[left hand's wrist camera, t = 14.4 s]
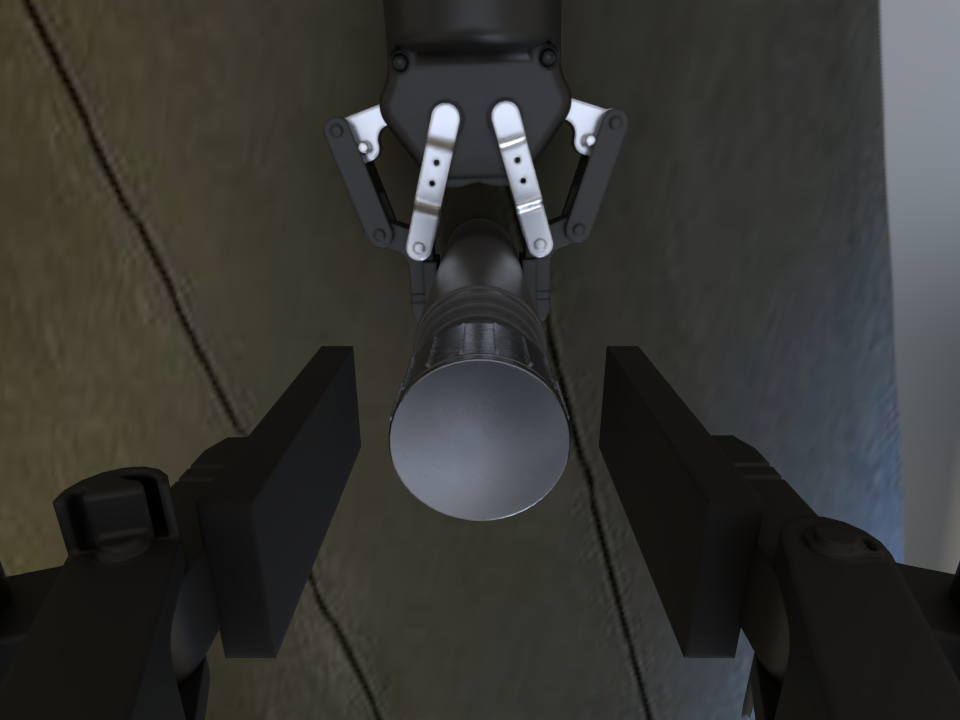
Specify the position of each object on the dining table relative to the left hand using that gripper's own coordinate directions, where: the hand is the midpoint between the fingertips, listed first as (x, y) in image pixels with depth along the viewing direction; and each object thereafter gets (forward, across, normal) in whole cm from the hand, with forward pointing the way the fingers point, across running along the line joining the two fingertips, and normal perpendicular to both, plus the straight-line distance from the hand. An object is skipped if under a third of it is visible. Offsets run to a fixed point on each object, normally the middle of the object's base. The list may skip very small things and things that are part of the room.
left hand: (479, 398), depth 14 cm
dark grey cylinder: (+22, 0, 0) cm, 22 cm away
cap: (-2, 0, 0) cm, 2 cm away
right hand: (+15, 0, -3) cm, 15 cm away
